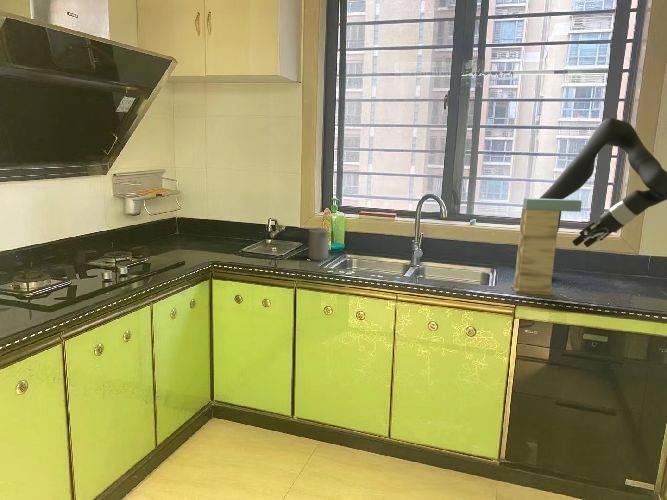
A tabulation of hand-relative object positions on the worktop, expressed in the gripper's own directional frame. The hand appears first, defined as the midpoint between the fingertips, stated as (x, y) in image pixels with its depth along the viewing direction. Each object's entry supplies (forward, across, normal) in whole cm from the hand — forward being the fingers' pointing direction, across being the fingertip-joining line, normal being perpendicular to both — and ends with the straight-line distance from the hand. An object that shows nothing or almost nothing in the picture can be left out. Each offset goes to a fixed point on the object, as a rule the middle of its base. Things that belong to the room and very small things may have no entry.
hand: (579, 244), depth 189 cm
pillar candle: (+93, +33, -60) cm, 115 cm away
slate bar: (+1, 0, -17) cm, 17 cm away
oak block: (+26, -2, +3) cm, 27 cm away
